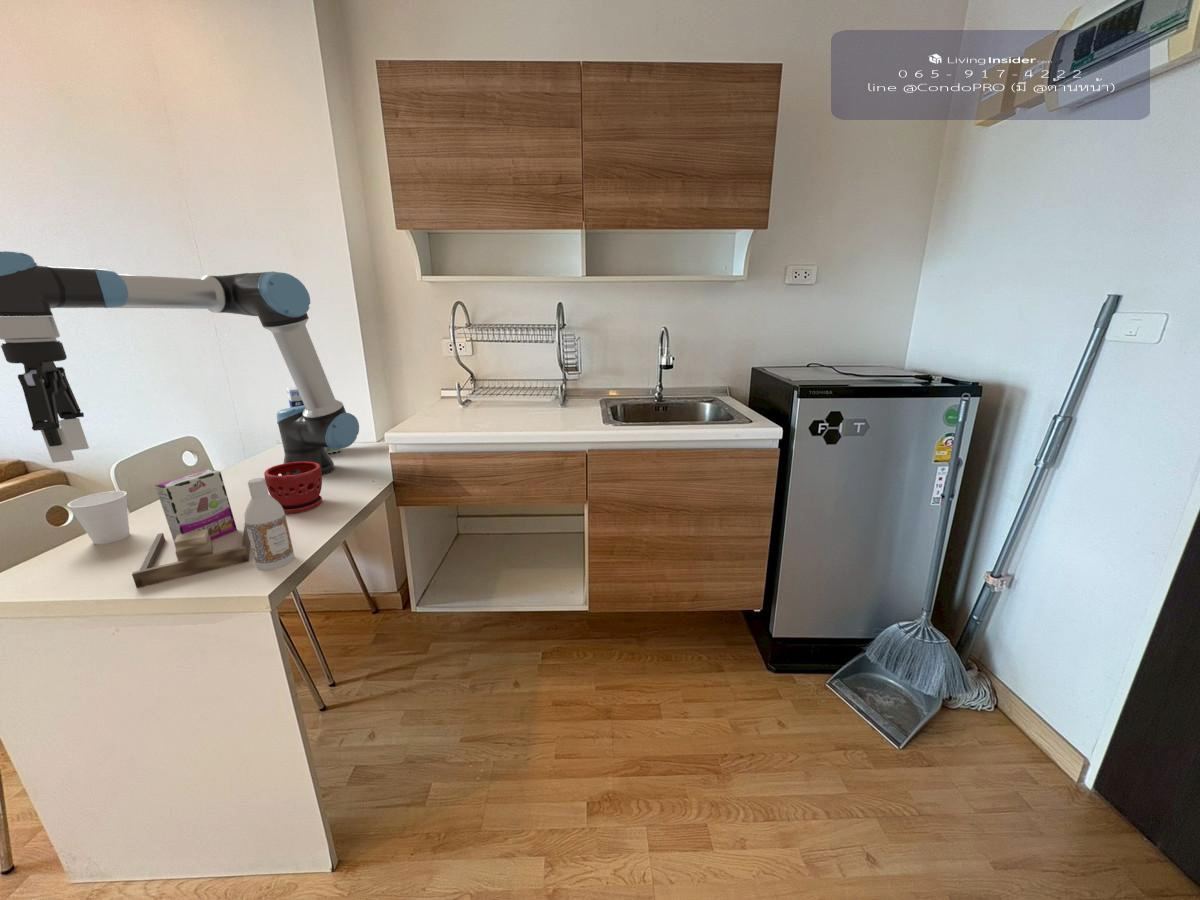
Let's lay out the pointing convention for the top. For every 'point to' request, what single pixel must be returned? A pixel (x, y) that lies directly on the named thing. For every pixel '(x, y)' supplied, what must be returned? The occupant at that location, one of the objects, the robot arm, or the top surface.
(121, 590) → the top surface
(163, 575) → the wooden frame
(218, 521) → the candy bar box
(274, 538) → the bath foam
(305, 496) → the plant pot
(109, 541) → the cup
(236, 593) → the top surface
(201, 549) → the offcut mid
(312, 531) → the top surface
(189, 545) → the offcut top
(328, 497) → the top surface
